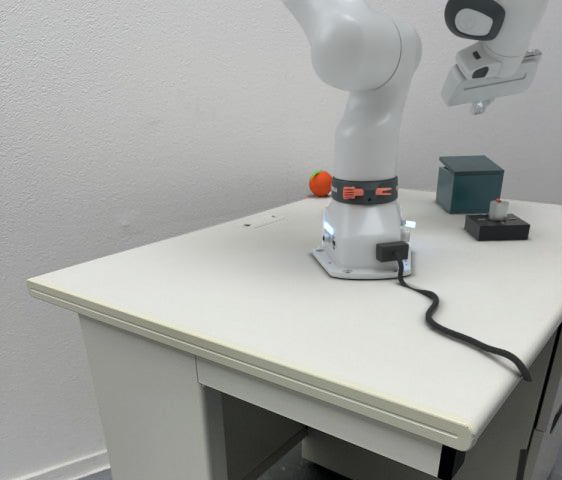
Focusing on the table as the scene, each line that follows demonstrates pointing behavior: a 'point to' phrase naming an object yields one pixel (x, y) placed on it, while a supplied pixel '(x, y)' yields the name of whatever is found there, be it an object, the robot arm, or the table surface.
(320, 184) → the clementine
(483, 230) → the control panel
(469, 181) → the teal open box
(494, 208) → the knob
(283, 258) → the table surface
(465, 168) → the box lid
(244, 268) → the table surface
